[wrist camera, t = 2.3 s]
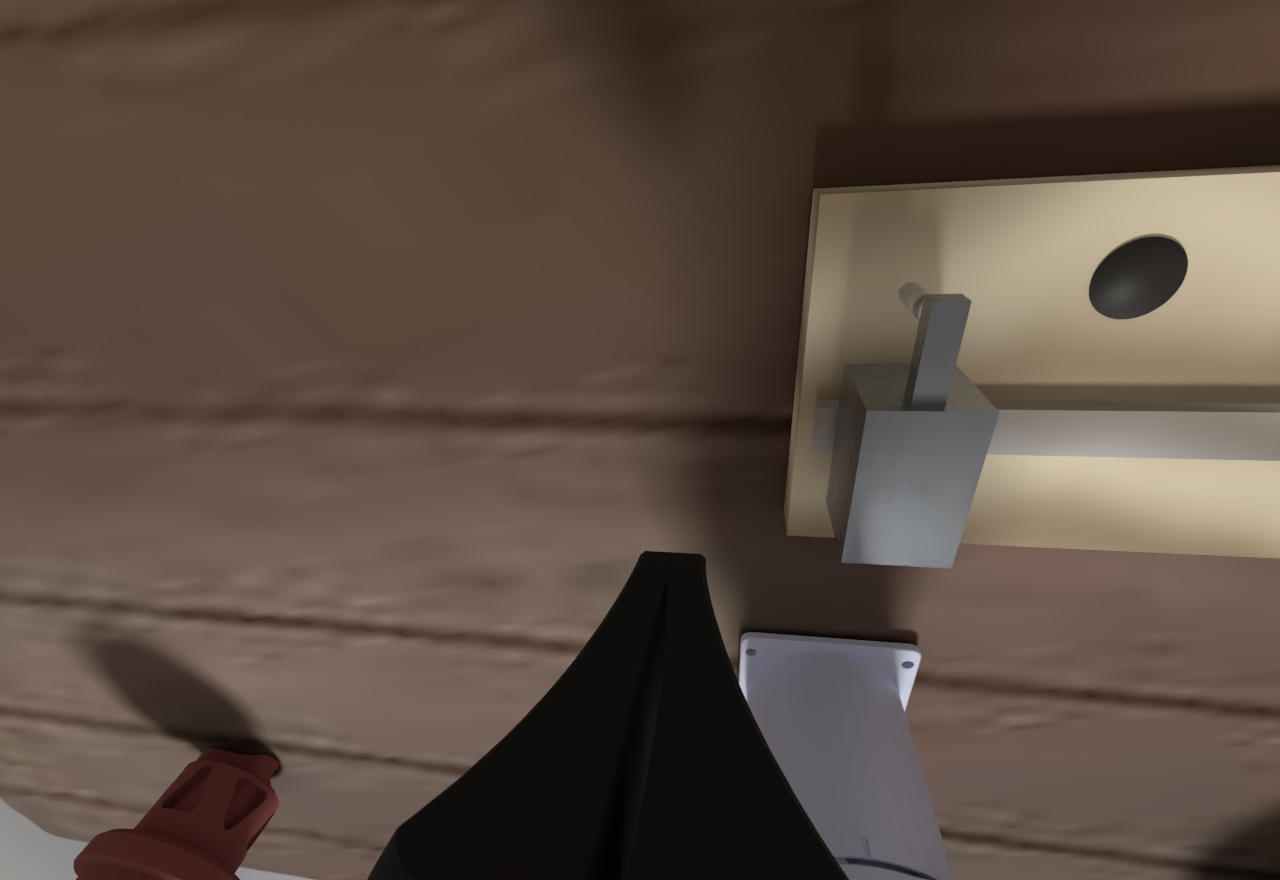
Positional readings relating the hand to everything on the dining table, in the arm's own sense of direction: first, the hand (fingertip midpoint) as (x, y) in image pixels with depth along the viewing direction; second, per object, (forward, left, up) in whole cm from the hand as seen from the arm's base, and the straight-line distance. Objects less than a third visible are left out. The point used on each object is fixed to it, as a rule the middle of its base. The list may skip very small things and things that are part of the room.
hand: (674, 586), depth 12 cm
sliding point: (+1, -6, -7) cm, 10 cm away
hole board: (+1, -15, -9) cm, 18 cm away
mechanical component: (-31, +34, -10) cm, 47 cm away
